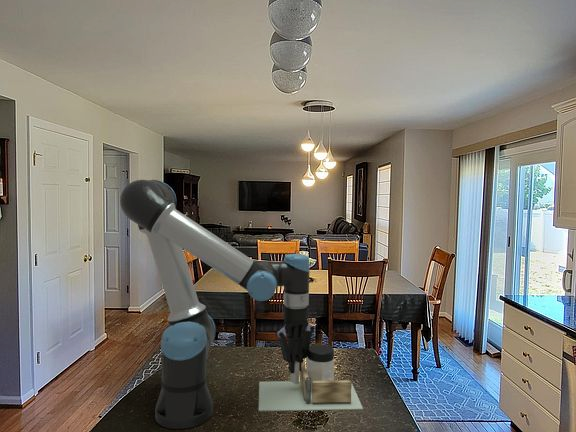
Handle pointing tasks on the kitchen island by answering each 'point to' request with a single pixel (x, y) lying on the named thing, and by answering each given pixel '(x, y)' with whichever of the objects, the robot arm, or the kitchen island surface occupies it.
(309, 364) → the jar
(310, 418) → the kitchen island surface
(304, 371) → the fence panel
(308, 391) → the hinge post
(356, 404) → the board
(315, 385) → the fixed panel
